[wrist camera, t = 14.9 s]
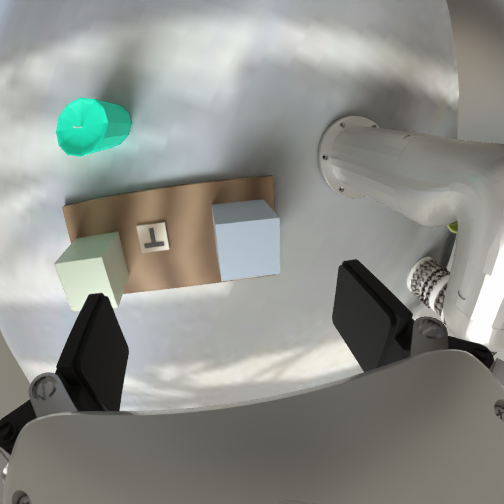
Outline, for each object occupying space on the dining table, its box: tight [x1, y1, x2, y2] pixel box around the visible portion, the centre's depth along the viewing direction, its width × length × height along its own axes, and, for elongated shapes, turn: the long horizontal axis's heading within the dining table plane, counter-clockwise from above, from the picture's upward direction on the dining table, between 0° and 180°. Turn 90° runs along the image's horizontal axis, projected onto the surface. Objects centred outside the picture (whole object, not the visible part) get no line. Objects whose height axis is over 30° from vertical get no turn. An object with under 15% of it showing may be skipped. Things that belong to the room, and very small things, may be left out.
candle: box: [56, 98, 132, 157], centre depth 25 cm, size 6×6×12 cm
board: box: [62, 176, 275, 294], centre depth 38 cm, size 30×15×2 cm, turn 92°
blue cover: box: [212, 199, 280, 281], centre depth 35 cm, size 7×7×8 cm
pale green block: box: [54, 232, 129, 311], centre depth 33 cm, size 7×7×8 cm
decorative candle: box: [407, 257, 497, 356], centre depth 40 cm, size 9×9×25 cm
